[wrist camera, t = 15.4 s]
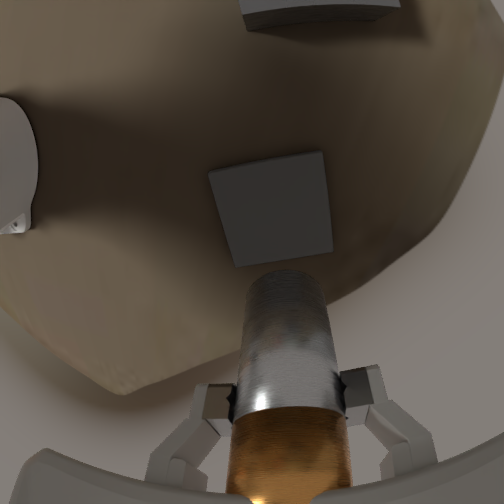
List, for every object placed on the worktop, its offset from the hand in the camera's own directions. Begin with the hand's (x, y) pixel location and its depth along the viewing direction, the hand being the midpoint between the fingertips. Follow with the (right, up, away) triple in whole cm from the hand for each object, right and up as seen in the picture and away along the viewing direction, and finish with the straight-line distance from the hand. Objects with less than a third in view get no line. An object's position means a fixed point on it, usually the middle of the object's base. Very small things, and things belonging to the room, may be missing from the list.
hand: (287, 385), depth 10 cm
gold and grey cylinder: (0, +3, +4) cm, 5 cm away
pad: (+1, +9, +14) cm, 16 cm away
